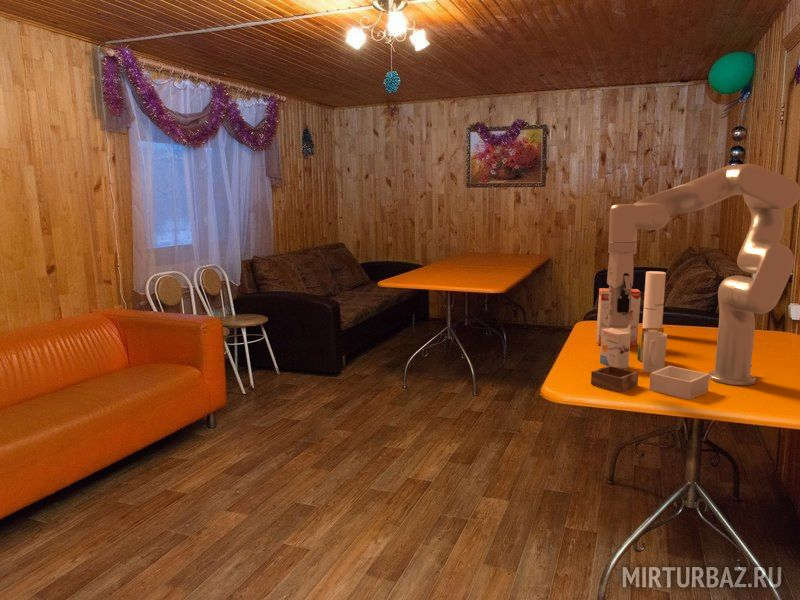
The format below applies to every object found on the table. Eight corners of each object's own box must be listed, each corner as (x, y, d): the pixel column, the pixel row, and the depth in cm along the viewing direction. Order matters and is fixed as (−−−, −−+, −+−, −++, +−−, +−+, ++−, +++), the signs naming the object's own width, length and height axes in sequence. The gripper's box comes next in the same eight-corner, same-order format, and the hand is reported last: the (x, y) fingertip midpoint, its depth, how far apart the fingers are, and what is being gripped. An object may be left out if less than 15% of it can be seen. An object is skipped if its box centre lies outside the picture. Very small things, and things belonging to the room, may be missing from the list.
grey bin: (668, 381, 184) (669, 365, 183) (708, 390, 175) (709, 374, 174) (649, 389, 176) (650, 373, 175) (689, 399, 168) (691, 382, 167)
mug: (644, 366, 200) (647, 330, 198) (666, 369, 196) (669, 333, 194) (637, 374, 192) (639, 336, 190) (659, 377, 188) (662, 339, 186)
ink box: (598, 363, 204) (601, 319, 202) (610, 361, 206) (612, 318, 204) (617, 369, 197) (620, 324, 194) (629, 367, 199) (632, 323, 196)
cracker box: (598, 345, 227) (601, 290, 223) (595, 341, 233) (598, 287, 229) (637, 347, 225) (641, 290, 221) (634, 343, 231) (637, 288, 227)
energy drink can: (627, 329, 174) (630, 277, 171) (605, 327, 177) (607, 276, 174) (631, 325, 179) (633, 274, 177) (609, 323, 182) (611, 273, 179)
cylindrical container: (664, 336, 240) (668, 273, 236) (646, 336, 241) (650, 273, 236) (657, 332, 248) (661, 271, 243) (639, 332, 248) (643, 271, 243)
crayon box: (658, 359, 208) (660, 326, 206) (662, 361, 205) (664, 328, 203) (636, 359, 208) (639, 326, 206) (640, 361, 205) (642, 328, 203)
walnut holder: (608, 377, 188) (608, 365, 187) (637, 385, 181) (638, 372, 180) (590, 384, 181) (591, 371, 181) (620, 392, 174) (621, 378, 174)
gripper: (601, 245, 183) (598, 304, 186) (617, 251, 166) (614, 316, 169) (626, 245, 182) (624, 304, 185) (645, 250, 165) (642, 316, 168)
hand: (619, 309), depth 177 cm, fingers closed on energy drink can, 6 cm apart
